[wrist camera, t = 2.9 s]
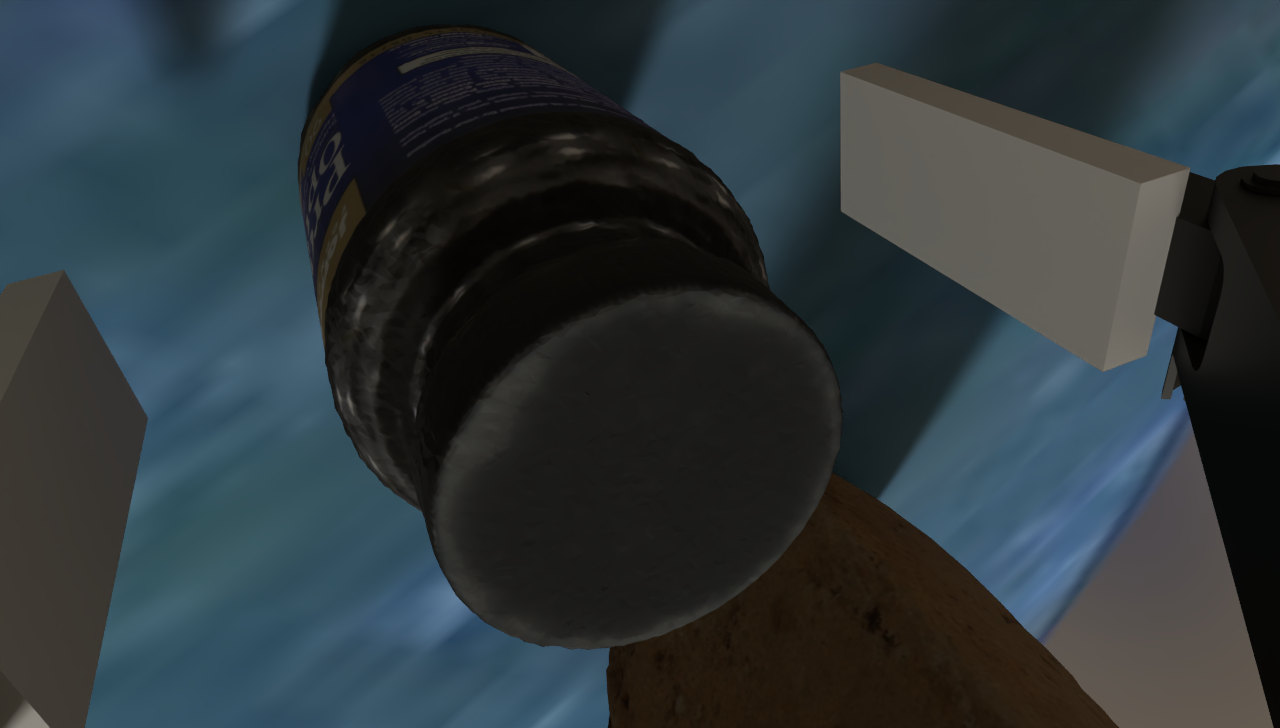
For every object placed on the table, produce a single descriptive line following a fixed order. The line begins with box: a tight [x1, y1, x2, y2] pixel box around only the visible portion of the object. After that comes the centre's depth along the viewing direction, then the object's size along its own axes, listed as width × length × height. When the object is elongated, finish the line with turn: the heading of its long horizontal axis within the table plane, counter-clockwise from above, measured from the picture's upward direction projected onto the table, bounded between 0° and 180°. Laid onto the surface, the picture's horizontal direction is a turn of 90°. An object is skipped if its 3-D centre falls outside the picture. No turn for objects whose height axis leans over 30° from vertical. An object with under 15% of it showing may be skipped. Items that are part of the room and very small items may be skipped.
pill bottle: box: [298, 24, 843, 650], centre depth 13 cm, size 6×6×11 cm
